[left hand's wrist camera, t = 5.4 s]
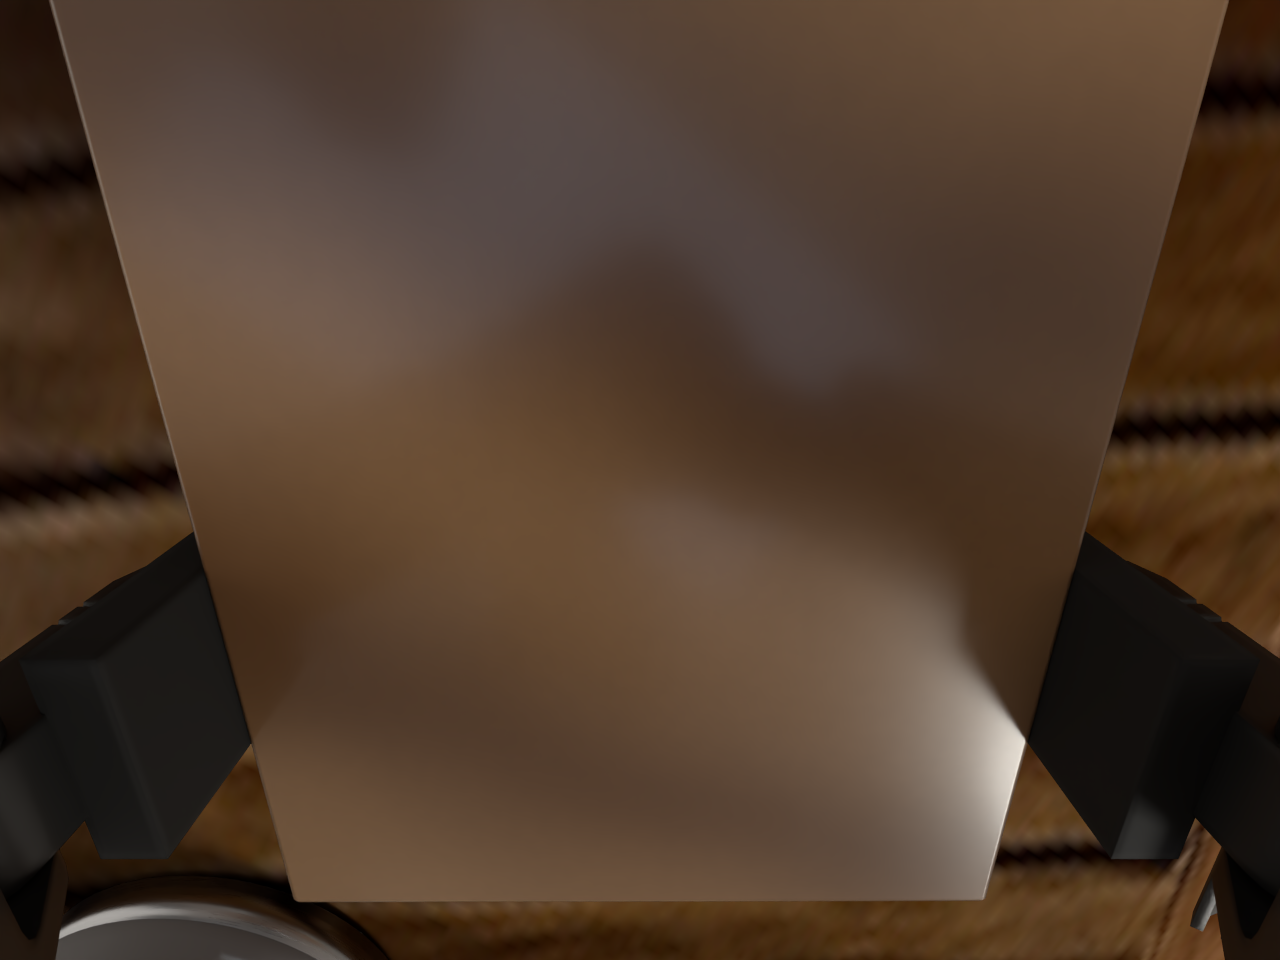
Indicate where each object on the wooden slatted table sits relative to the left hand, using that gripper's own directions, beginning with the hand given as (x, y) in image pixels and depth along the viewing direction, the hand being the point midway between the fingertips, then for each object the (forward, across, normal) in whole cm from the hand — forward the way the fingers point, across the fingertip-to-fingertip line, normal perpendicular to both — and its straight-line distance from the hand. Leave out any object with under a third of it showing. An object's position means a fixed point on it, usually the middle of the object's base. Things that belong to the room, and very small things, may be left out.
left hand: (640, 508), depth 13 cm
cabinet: (+7, 0, -6) cm, 9 cm away
